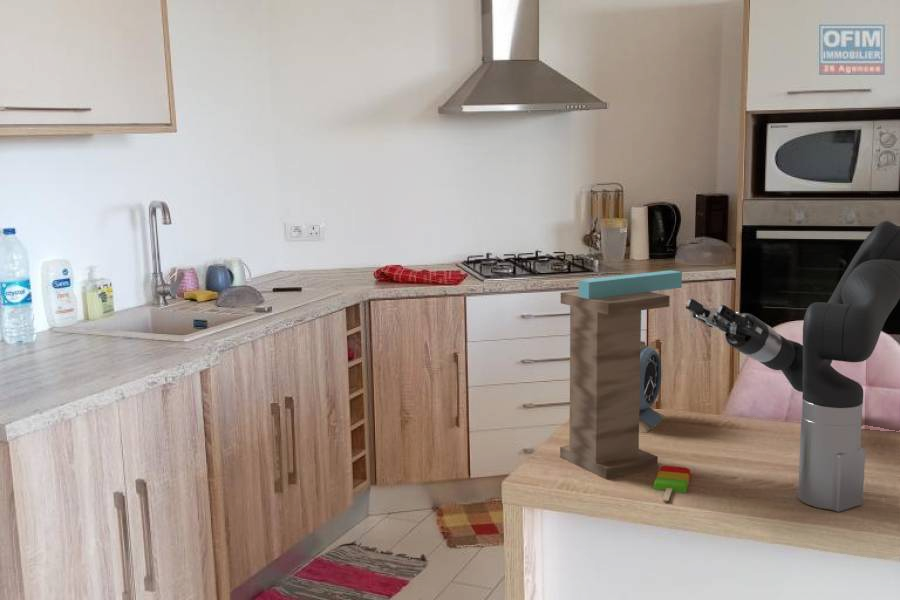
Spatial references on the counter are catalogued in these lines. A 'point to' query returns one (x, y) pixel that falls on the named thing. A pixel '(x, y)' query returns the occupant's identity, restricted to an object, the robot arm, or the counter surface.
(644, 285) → the teal bar
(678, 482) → the popsicle
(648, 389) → the alarm clock
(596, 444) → the shelf stand
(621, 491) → the counter surface
